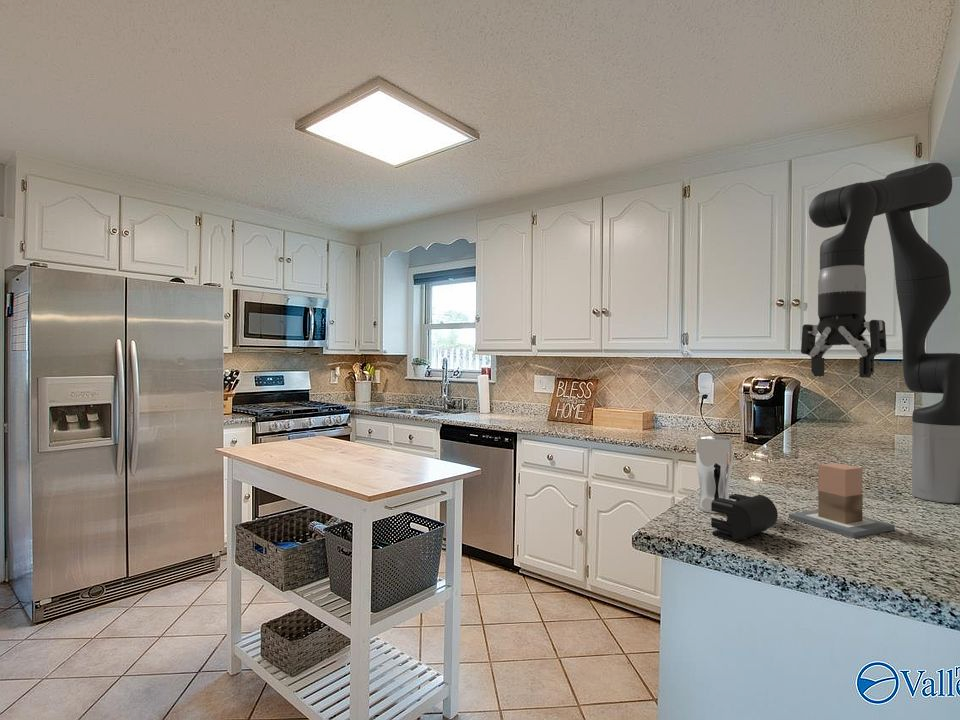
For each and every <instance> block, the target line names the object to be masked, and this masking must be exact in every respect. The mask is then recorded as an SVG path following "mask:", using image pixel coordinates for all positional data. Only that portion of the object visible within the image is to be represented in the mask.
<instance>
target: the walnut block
mask: <svg viewBox="0 0 960 720" xmlns="http://www.w3.org/2000/svg"><path fill="white" fill-rule="evenodd" d="M863 496H864V495H863V493H862V494H861V495H854V496H848V497H844V496H840V495H835V494H831V493H827V492H822V491H818V495H817V498H818V500H817V502H818V503H817V506H818V508H817V510H818V517H822V518H825V519H829V520H833V521H836V522H840V523H843V524H848V523H854V522H860V521H862V518H863V517H864V516H863V513H864V512H863V511H864V510H863V506H864V505H863V501H864V498H863Z"/></svg>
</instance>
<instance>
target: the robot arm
mask: <svg viewBox="0 0 960 720" xmlns="http://www.w3.org/2000/svg"><path fill="white" fill-rule="evenodd" d="M952 190H953V177H952V173H951V170H950V169H949V168H948V167H947V165H945V164H943V163H941V162H930V163H924V164H921V165H917V166H913V167H910V168H905V169H902V170H899V171H895V172H891V173H889V174H887V175H886V176H885V178H881V179H875V180H870V181H869V180H868V181H866V182H855V183H852V184H848V185H844V186H841V187H837V188H834V189H833V188H832V189H830V190H826V191H823V192H821V193H819V194H817V195H816V196H815V197H814V198H813V199H812V200H811V203H810V204H809V208H808V215H809V219H810V220H811V222H812V223H813V224H815V226H817V227H819V228H823V229H829V228H834V227H839V226H843V228H842V230H841V231H840V232H839V233H837V234H835V235H834V236H831V237H829V238H826V239H825V240H823V241H822V242H821V244H820V246H819V275H818V281H817V282H818V283H817V315H818V319H819V322H818V324H803V325H802V328H801V329H802V331H801V346H800V347H801V348H800V352H801V354H802V355H806V356H809V357H810V358H811V360H810V361H811V366H810V367H811V370H810V371H811V373H812V374H813V376H814V377H824V376H825V357H824V355H826V353H827V351H829V350H831V348H832V347H833V346H842V345H844V346H846V345H847V346H851V347H852V348H854V349H855V350H856V351H857V353H858V354H859V355H860V356H861V357H860V356H859V374H858V375H859V378H864V379H865V378H867V379H868V378H871V376H872V375H873V374H874V372H875V367H874V366H875V357H876V356H877V355H882V354H885V353H886V352H887V337H886V336H887V334H886V322H885V321H884V320H881V319H871V320H870V321H866V318H865V316H866V314H867V277H866V270H865V265H866V264H865V256H866V255H865V249H866V248H865V247H866V246H865V245H866V241H867V238H868V234H869V231H870V227H871V226H872V221H873V219H874V217H876V216H880V215H884V214H885V217H886V218H885V219H886V223H887V227H888V231H889V236H890V241H891V248H892V254H893V255H892V257H893V265H894V266H893V267H894V278H895V279H894V280H895V287H896V289H895V290H896V296H897V301H898V303H897V304H898V308H899V314H900V322H901V323H900V324H901V336H902V338H901V339H902V370H903V371H902V372H903V379H904V383H905V385H906V388H907V389H908V390H909V391H910V392H912V393H913V392H914V393H923V394H943V396H942V398H941V400H940V401H938V402H937V403H934V404H933V405H929V406H928V405H927V406H925V407H920V408H916V409H914V410H913V411H912V415H911V416H912V417H911V420H912V422H911V431H912V433H911V434H912V436H911V438H912V439H911V442H912V445H911V454H912V455H911V495H912V496H913V497H915V498H917V499H922V500H925V501H932V502H938V503H945V504H947V503H948V504H960V353H959V352H958V353H956V352H955V353H954V352H953V353H952V352H944V353H943V352H942V353H941V352H938V353H937V352H933V353H931V352H930V353H929V352H927V351H926V339H927V336H928V333H929V331H930V330H931V327H932V325H933V324H934V322H935V320H937V318H938V316H940V314H941V313H942V311H943V310H944V309H945V307H946V305H947V303H948V302H949V299H950V297H951V294H952V289H951V287H952V286H951V281H950V279H951V278H950V270H949V265H948V263H947V261H946V260H945V259H944V258H943V256H941V254H939V252H937V250H935V248H934V247H932V246H931V245H930V244H929V243H928V242H927V241H926V240H925V239H923V237H922V236H921V235H920V233H919V232H918V230H917V229H916V228H915V225H914V222H913V220H912V216H911V212H914V211H918V210H923V209H927V208H928V209H929V208H931V207H935V206H937V205H938V206H939V205H940V204H942V203H944V202H945V201H946V200H947V199H948V198H949V197H950V195H951V193H952ZM866 330H867V332H868V333H869V338H870V342H869V341H868V339H867V338H866V337H865V336H864V335H863V334H864V333H865V331H866ZM818 334H820V336H819V337H818V339H817V340H816V337H817V335H818Z"/></svg>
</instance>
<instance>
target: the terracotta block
mask: <svg viewBox="0 0 960 720" xmlns="http://www.w3.org/2000/svg"><path fill="white" fill-rule="evenodd" d="M817 468H818V472H817V473H818V474H817V475H818V476H817V477H818V478H817V479H818V481H817V484H818V487H817V488H818V491H822V492H827V493H831V494H835V495H840V496H844V497H848V496H854V495H861V494H863V467H860V466H854V465H849V464H843V463H836V462H833V463H832V462H831V463H823V464H822V463H821V464H820V463H819V464H818V467H817Z"/></svg>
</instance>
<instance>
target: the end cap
mask: <svg viewBox="0 0 960 720" xmlns="http://www.w3.org/2000/svg"><path fill="white" fill-rule="evenodd" d="M711 511H714V512H718V513H722V514H723V515H725V516H726V520H723V519H720V518H719V519H718V518H714V517H711V520H710V521H711V522H710V525H711V528H713V529H715V530H713V531H711V532H712V533H711V534H712V536H714V537H718V538H721V539H724V540H728V541H730V540H731V542H735V541H736V542H737V543H738V542H740V541H742V540H745V539H748V538H750V536H751V537H753V536H755V535H758V534H760V533H763V532H765V531H768V529H770V528H772V527H773V526H775V524H776V523H777V521H778V518H779V517H778V516H779V513H778V512H779V511H778V509H777V507H776V505H775V503H774V502H773V501H772V500H771V499H770V498H769V497H767V496H766V495H763V494H758V495H754V496H749V495H743V494H738V493H733V494H730V495H728V500H727V499H723V498H719V499H715V500H713V501H712V503H711Z"/></svg>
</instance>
